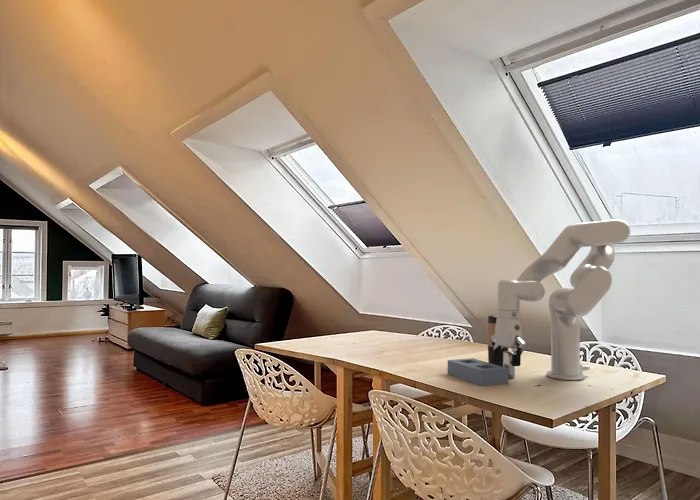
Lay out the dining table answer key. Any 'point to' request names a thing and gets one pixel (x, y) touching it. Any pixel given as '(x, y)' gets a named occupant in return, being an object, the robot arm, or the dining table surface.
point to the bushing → (509, 364)
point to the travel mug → (490, 347)
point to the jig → (478, 371)
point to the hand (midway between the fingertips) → (506, 363)
